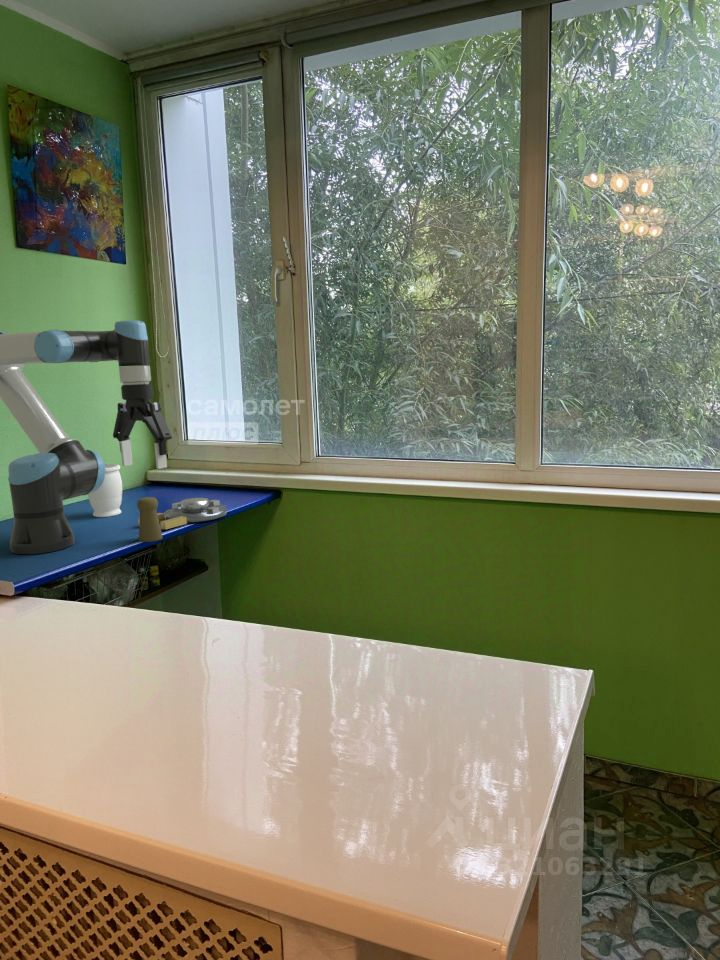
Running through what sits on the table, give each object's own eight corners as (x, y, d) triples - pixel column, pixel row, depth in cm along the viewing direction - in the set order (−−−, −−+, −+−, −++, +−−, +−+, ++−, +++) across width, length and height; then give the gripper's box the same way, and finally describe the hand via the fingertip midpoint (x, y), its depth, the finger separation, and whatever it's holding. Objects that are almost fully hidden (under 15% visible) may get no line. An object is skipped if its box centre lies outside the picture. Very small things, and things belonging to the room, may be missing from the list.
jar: (117, 517, 212) (112, 468, 209) (83, 519, 212) (78, 469, 209) (129, 510, 222) (125, 463, 220) (97, 511, 222) (92, 464, 220)
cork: (149, 542, 181) (145, 500, 179) (133, 540, 184) (129, 499, 182) (167, 537, 186) (163, 496, 184) (151, 534, 189) (147, 494, 187)
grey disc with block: (197, 506, 221) (196, 492, 220) (239, 512, 210) (238, 497, 210) (131, 524, 200) (129, 508, 200) (173, 530, 190) (172, 514, 189)
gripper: (181, 381, 174) (188, 466, 177) (118, 383, 188) (126, 462, 191) (156, 383, 168) (165, 471, 171) (93, 385, 182) (102, 466, 185)
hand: (144, 466), depth 181 cm, fingers open, 13 cm apart
